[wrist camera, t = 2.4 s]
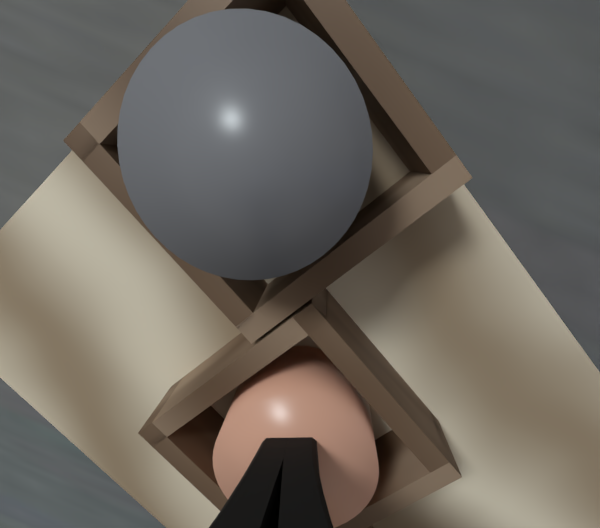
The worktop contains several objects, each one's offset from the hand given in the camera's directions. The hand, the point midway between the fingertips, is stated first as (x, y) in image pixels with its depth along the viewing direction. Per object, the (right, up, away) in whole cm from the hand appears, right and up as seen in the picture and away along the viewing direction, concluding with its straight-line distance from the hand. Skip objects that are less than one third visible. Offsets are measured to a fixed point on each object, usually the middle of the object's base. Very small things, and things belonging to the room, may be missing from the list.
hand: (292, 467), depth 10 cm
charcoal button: (-1, +8, -1) cm, 8 cm away
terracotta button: (0, +1, +2) cm, 2 cm away
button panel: (0, +1, +4) cm, 4 cm away
